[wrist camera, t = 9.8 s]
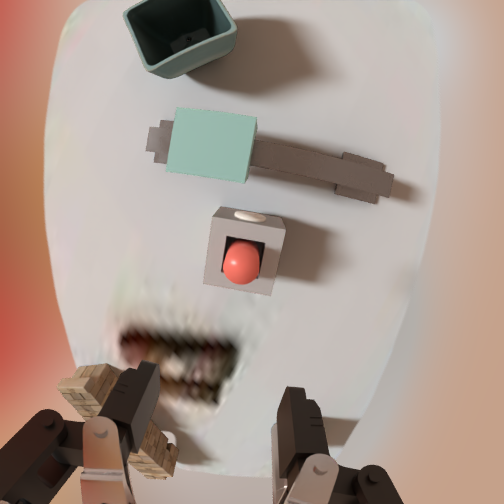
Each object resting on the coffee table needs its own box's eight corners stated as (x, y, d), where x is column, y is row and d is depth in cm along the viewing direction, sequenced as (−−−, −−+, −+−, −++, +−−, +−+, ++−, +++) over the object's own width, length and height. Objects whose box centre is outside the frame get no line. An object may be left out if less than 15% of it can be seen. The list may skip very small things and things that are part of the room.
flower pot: (215, 10, 25) (203, -28, 16) (244, 62, 27) (239, 29, 18) (150, 41, 26) (120, 12, 17) (174, 94, 28) (146, 73, 20)
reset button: (256, 269, 30) (255, 287, 26) (225, 264, 30) (220, 281, 26) (262, 240, 29) (262, 254, 25) (230, 234, 29) (226, 247, 25)
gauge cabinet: (269, 273, 35) (270, 295, 29) (212, 263, 34) (203, 283, 29) (281, 214, 32) (286, 226, 27) (221, 203, 32) (212, 213, 26)
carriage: (247, 178, 27) (244, 183, 20) (187, 168, 27) (165, 171, 20) (257, 128, 26) (256, 117, 19) (196, 119, 25) (176, 107, 19)
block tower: (183, 449, 50) (103, 355, 40) (177, 480, 42) (83, 389, 32) (154, 450, 50) (74, 359, 41) (146, 478, 42) (53, 390, 33)
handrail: (372, 203, 32) (394, 212, 26) (155, 162, 31) (134, 163, 25) (381, 163, 30) (404, 165, 24) (162, 120, 29) (142, 113, 24)
